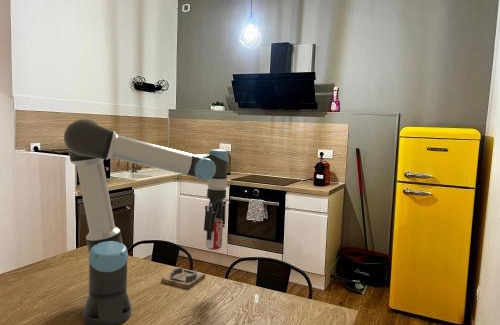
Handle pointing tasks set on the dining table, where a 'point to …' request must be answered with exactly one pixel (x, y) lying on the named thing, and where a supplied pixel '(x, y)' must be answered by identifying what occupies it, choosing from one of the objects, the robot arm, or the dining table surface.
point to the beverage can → (217, 234)
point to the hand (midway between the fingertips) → (213, 244)
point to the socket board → (183, 277)
